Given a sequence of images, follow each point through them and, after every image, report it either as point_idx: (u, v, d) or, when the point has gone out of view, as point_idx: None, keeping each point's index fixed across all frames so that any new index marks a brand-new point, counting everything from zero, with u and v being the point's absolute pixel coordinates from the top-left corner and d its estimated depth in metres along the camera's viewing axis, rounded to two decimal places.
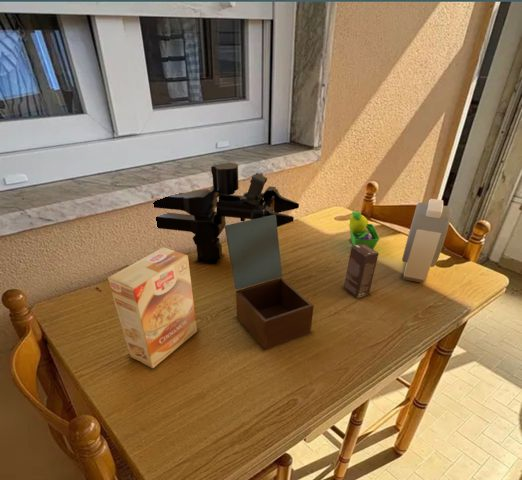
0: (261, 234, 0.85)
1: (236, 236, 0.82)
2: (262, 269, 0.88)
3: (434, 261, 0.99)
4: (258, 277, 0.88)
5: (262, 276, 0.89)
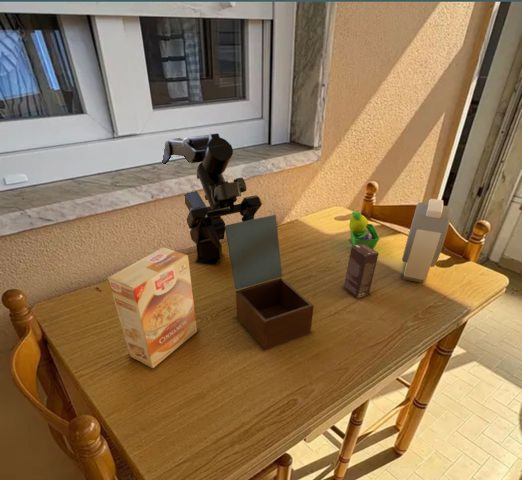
0: (261, 234, 0.85)
1: (236, 236, 0.82)
2: (262, 269, 0.88)
3: (434, 261, 0.99)
4: (258, 277, 0.88)
5: (262, 276, 0.89)
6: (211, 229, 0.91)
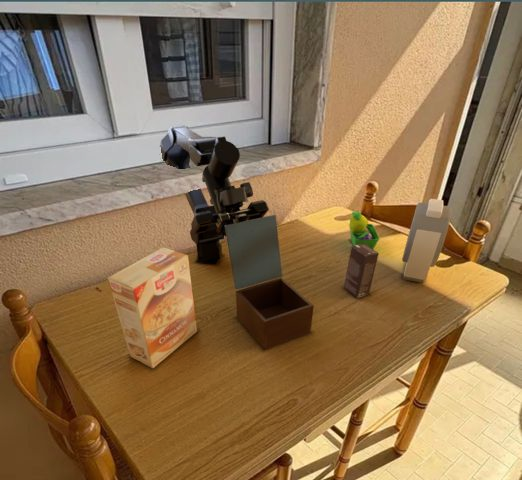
0: (261, 234, 0.85)
1: (236, 236, 0.82)
2: (262, 269, 0.88)
3: (434, 261, 0.99)
4: (258, 277, 0.88)
5: (262, 276, 0.89)
6: None
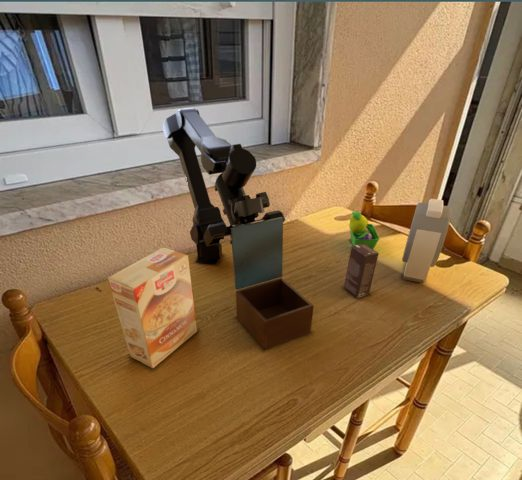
0: (266, 237, 0.83)
1: (241, 239, 0.80)
2: (263, 270, 0.88)
3: (434, 261, 0.99)
4: (259, 278, 0.88)
5: (263, 277, 0.89)
6: None
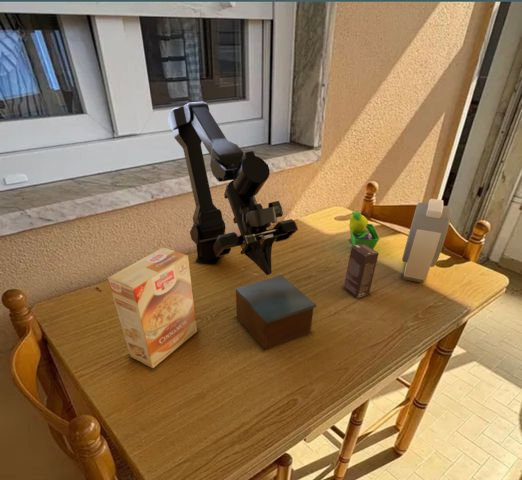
0: None
1: None
2: None
3: (434, 261, 0.99)
4: None
5: None
6: (259, 254, 0.82)
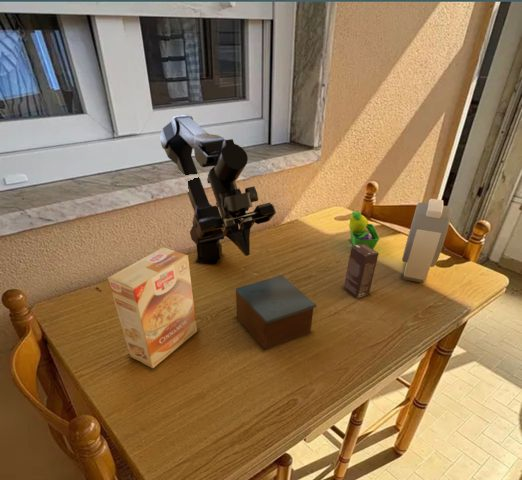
0: None
1: None
2: None
3: (434, 261, 0.99)
4: None
5: None
6: (238, 236, 0.88)
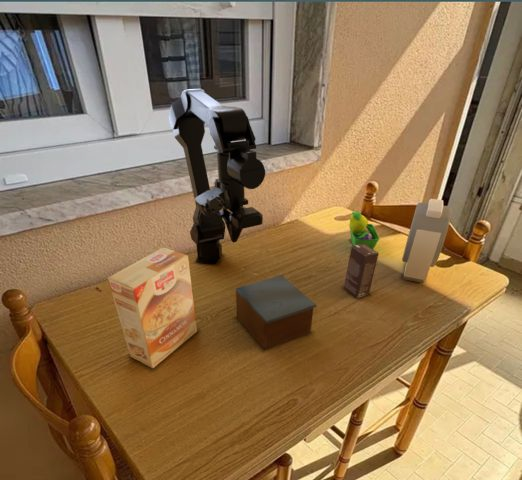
0: None
1: None
2: None
3: (434, 261, 0.99)
4: None
5: None
6: (226, 223, 0.92)
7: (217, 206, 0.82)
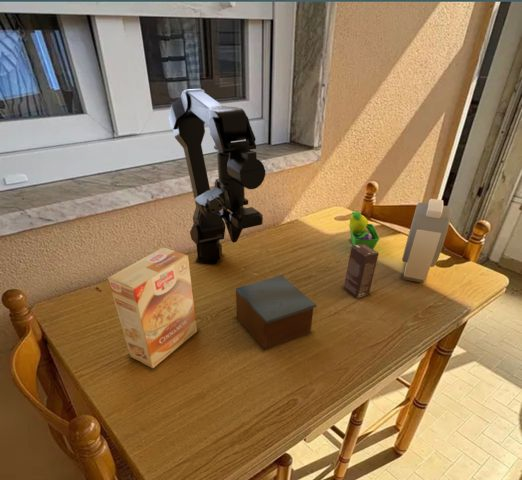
0: None
1: None
2: None
3: (434, 261, 0.99)
4: None
5: None
6: (226, 224, 0.92)
7: (217, 206, 0.82)
